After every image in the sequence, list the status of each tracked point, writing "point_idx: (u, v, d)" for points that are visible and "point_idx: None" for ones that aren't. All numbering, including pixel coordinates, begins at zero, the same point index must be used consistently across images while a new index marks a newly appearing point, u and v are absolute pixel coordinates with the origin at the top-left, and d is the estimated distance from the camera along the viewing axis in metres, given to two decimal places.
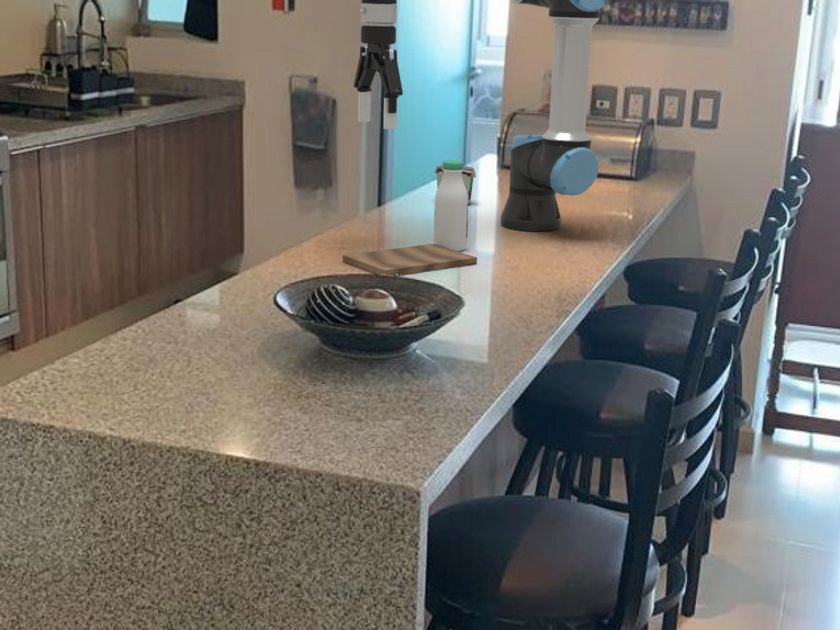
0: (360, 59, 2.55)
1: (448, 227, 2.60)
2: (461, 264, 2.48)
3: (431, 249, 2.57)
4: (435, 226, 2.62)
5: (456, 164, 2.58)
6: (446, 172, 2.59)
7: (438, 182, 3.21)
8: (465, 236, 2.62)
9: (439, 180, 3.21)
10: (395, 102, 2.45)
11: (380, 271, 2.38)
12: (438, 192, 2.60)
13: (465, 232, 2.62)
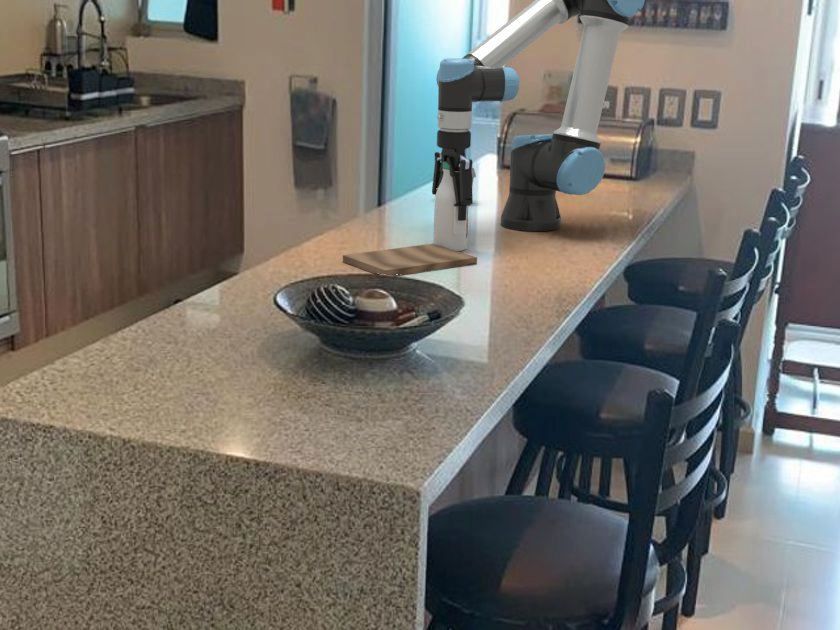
0: (436, 165, 2.65)
1: (448, 227, 2.60)
2: (461, 264, 2.48)
3: (431, 249, 2.57)
4: (435, 226, 2.62)
5: None
6: (446, 172, 2.59)
7: None
8: (465, 236, 2.62)
9: None
10: (465, 210, 2.58)
11: (380, 271, 2.38)
12: (438, 192, 2.60)
13: None
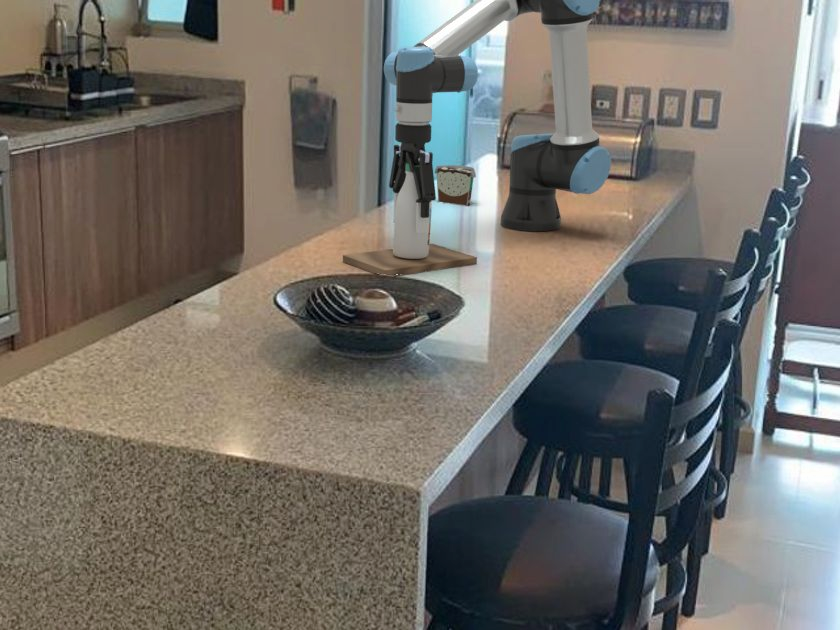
0: (394, 158, 2.49)
1: (409, 233, 2.44)
2: (461, 264, 2.48)
3: (431, 249, 2.57)
4: (395, 231, 2.46)
5: None
6: (409, 174, 2.43)
7: (438, 182, 3.21)
8: (427, 243, 2.47)
9: (439, 180, 3.21)
10: (428, 206, 2.40)
11: (380, 271, 2.38)
12: (399, 195, 2.44)
13: (427, 239, 2.46)
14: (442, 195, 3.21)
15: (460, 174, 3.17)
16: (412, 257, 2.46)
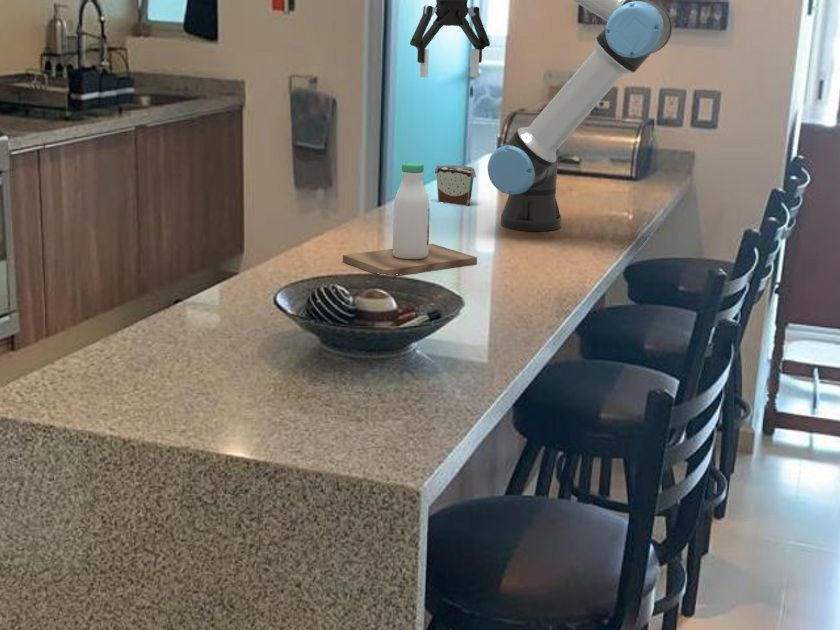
0: None
1: (408, 234, 2.44)
2: (461, 264, 2.48)
3: (431, 249, 2.57)
4: (394, 232, 2.46)
5: (416, 166, 2.42)
6: (405, 175, 2.43)
7: (438, 182, 3.21)
8: (426, 243, 2.47)
9: (439, 180, 3.21)
10: (419, 52, 2.73)
11: (380, 271, 2.38)
12: (397, 196, 2.44)
13: (426, 239, 2.46)
14: (442, 195, 3.21)
15: (460, 174, 3.17)
16: (412, 257, 2.46)
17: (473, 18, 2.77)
